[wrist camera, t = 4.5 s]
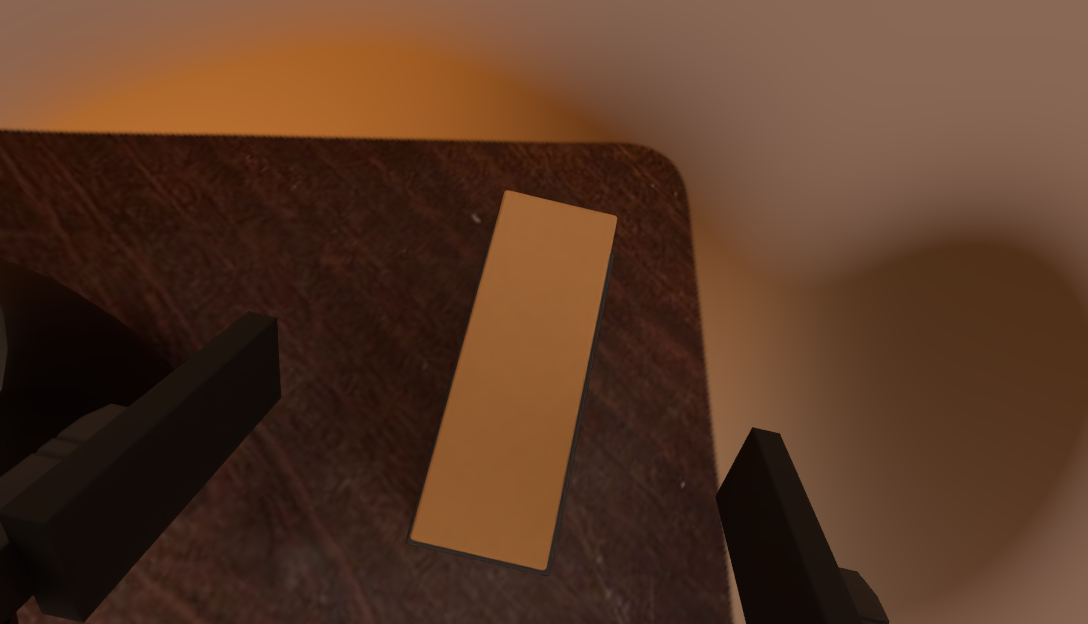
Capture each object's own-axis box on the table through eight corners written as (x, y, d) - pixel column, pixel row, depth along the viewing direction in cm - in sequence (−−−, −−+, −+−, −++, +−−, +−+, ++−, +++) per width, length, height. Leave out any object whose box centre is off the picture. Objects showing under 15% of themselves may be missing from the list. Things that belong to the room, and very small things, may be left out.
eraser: (601, 278, 24) (648, 191, 16) (544, 560, 20) (567, 623, 13) (494, 252, 24) (489, 154, 16) (418, 531, 20) (366, 576, 13)
